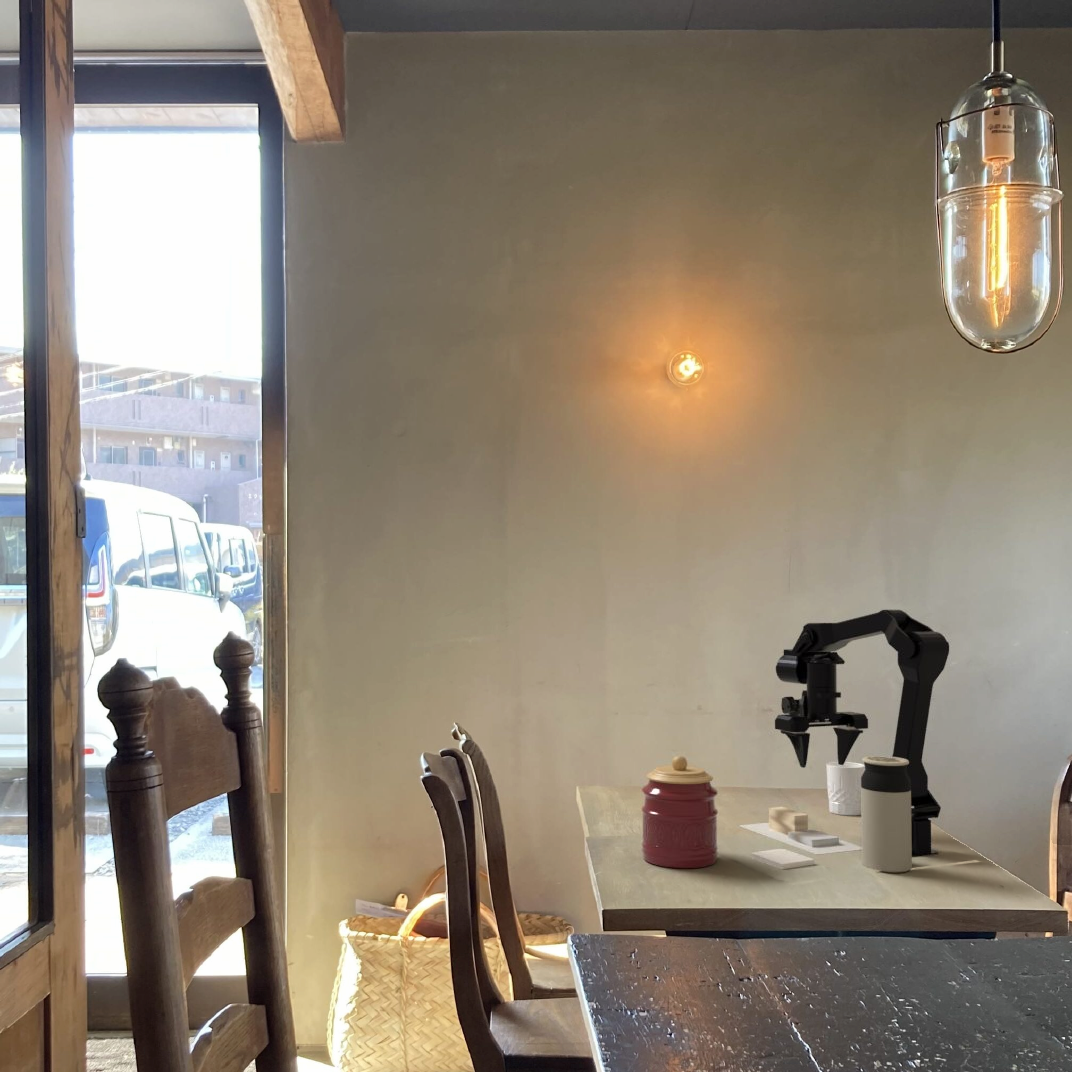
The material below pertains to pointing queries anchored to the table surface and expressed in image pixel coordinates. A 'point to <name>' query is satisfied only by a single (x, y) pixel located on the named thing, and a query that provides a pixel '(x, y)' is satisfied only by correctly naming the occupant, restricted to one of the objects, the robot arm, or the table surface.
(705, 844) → the canister
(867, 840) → the travel mug
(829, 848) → the mat
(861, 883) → the table surface
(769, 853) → the tile
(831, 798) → the white cup
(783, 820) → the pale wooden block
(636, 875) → the table surface
